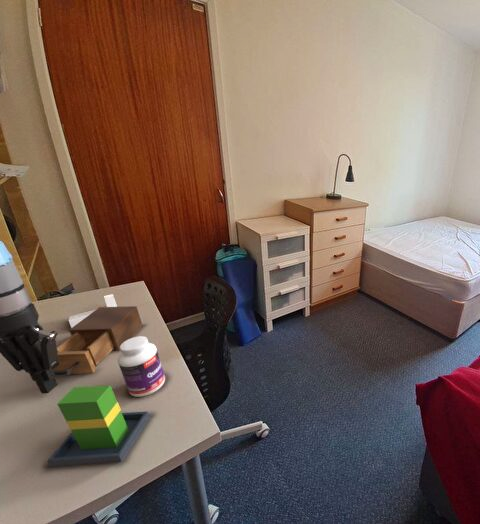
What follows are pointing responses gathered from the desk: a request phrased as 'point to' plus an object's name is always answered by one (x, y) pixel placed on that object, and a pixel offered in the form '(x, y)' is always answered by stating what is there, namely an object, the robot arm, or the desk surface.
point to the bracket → (79, 317)
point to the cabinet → (112, 323)
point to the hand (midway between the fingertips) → (49, 388)
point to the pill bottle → (140, 366)
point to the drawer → (83, 352)
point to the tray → (74, 455)
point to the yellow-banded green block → (94, 417)
